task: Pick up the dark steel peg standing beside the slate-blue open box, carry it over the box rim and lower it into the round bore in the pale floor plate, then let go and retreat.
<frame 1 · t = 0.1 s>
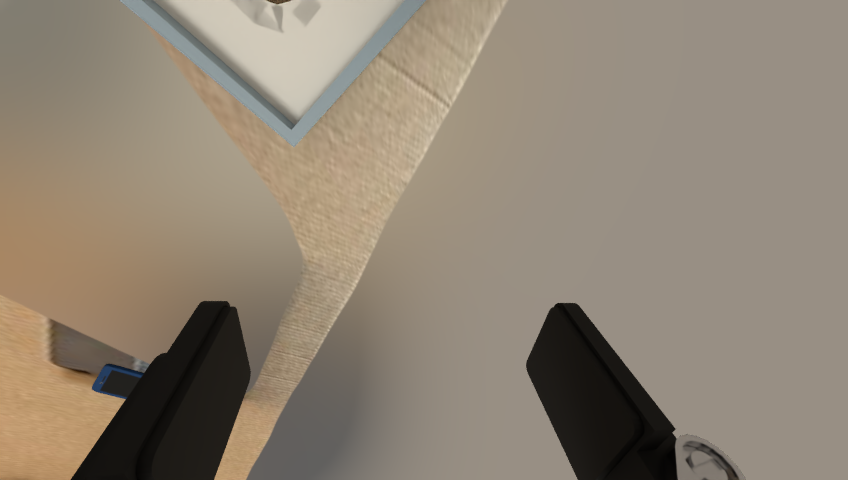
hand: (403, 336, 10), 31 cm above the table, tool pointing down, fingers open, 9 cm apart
cell phone: (150, 385, 54), on the table
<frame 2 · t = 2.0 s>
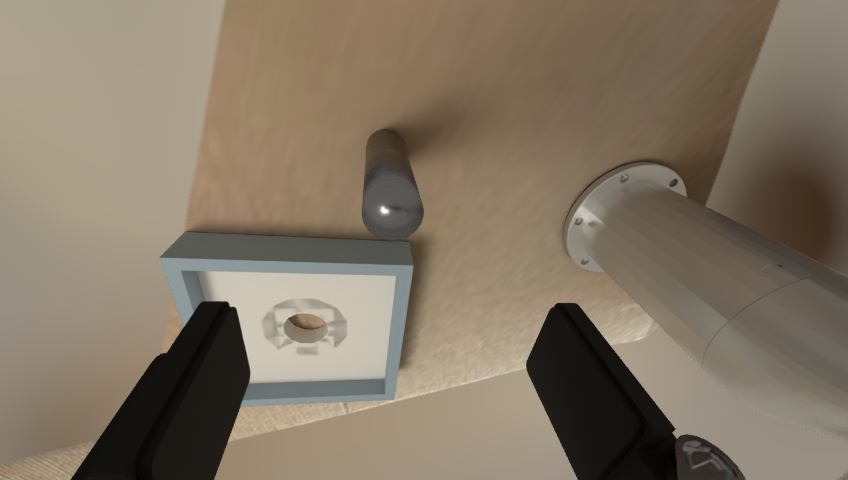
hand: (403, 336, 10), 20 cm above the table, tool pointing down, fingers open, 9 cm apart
box: (309, 315, 35), on the table
peg: (385, 149, 27), on the table
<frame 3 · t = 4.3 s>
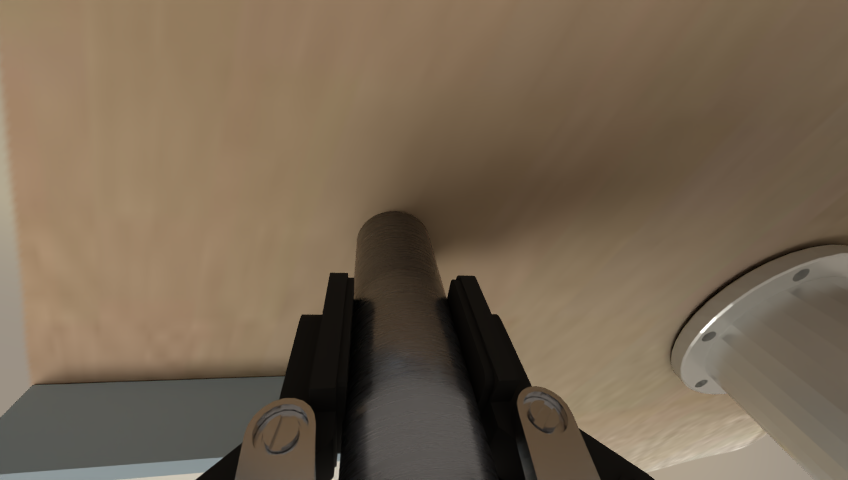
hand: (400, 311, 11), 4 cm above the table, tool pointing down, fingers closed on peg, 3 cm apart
box: (272, 466, 23), on the table
peg: (393, 243, 14), on the table, touching gripper
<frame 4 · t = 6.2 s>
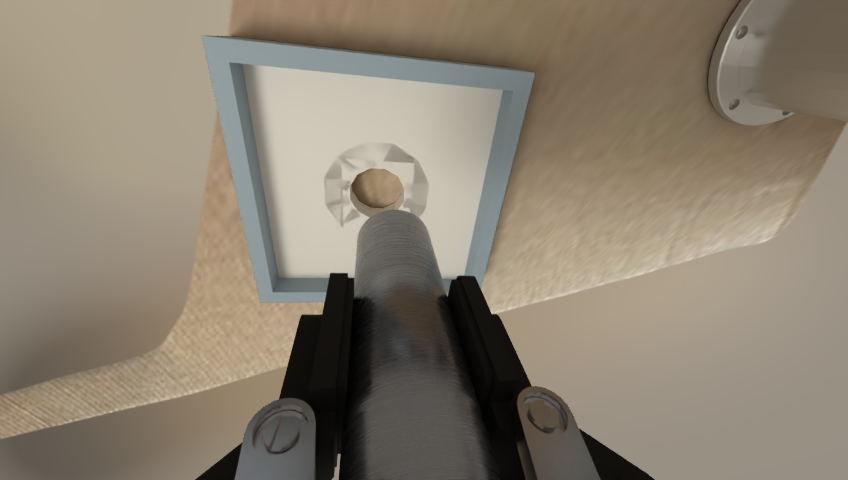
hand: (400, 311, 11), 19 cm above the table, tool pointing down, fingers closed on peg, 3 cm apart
box: (377, 185, 28), on the table
peg: (393, 242, 14), point 14 cm above the table, touching gripper
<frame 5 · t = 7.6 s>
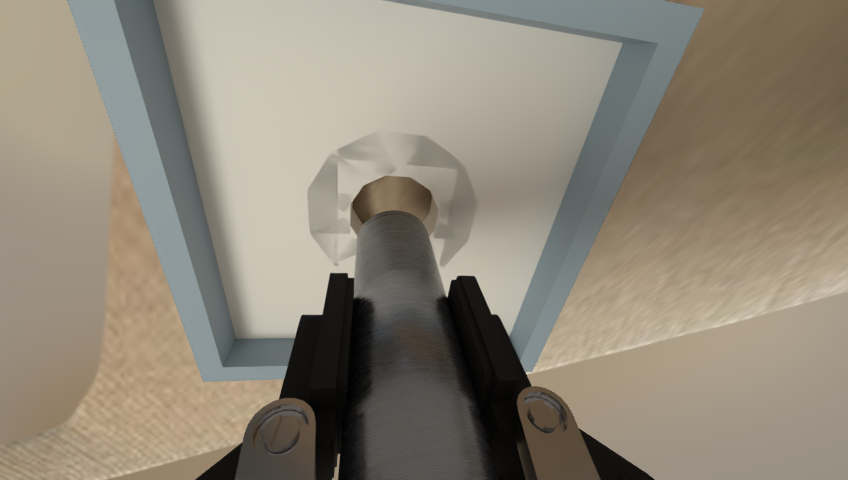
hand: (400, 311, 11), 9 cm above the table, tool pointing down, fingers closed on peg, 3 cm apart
box: (392, 200, 18), on the table
peg: (393, 242, 14), point 4 cm above the table, touching gripper
when the fingers open (5 cm above the table, at t = 8.6 s): peg stays where it is, resting in box.
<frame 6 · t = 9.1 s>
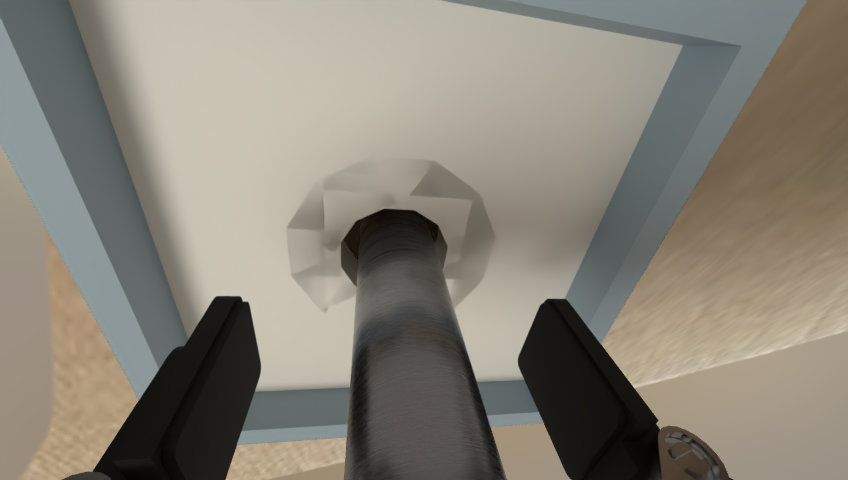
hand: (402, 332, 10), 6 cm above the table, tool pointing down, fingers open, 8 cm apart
box: (392, 232, 15), on the table
peg: (394, 230, 15), resting in box
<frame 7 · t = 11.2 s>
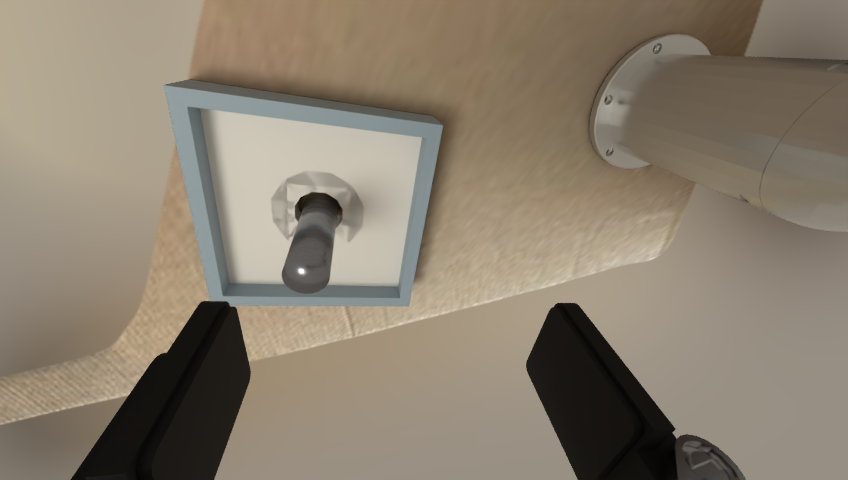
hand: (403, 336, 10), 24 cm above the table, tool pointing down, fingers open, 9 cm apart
box: (321, 204, 32), on the table
peg: (322, 204, 32), resting in box
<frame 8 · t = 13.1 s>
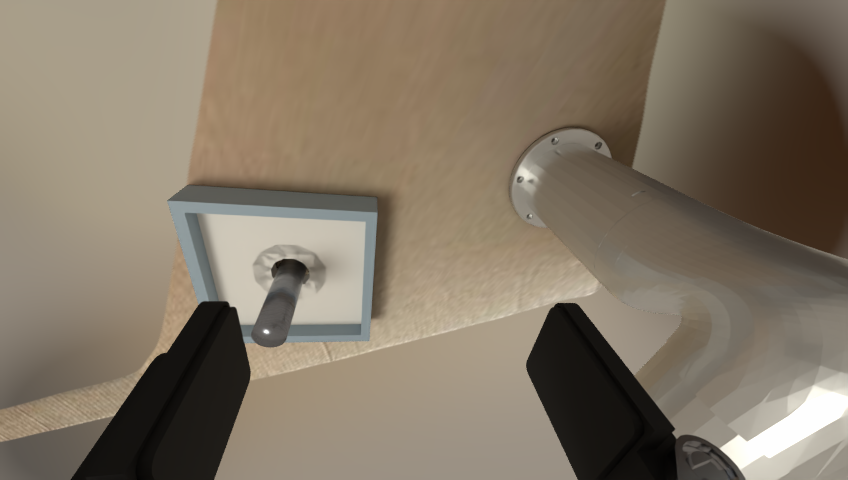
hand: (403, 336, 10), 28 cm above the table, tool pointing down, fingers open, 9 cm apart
box: (293, 263, 41), on the table
peg: (294, 263, 41), resting in box
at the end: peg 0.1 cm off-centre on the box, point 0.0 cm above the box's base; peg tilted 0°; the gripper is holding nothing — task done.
